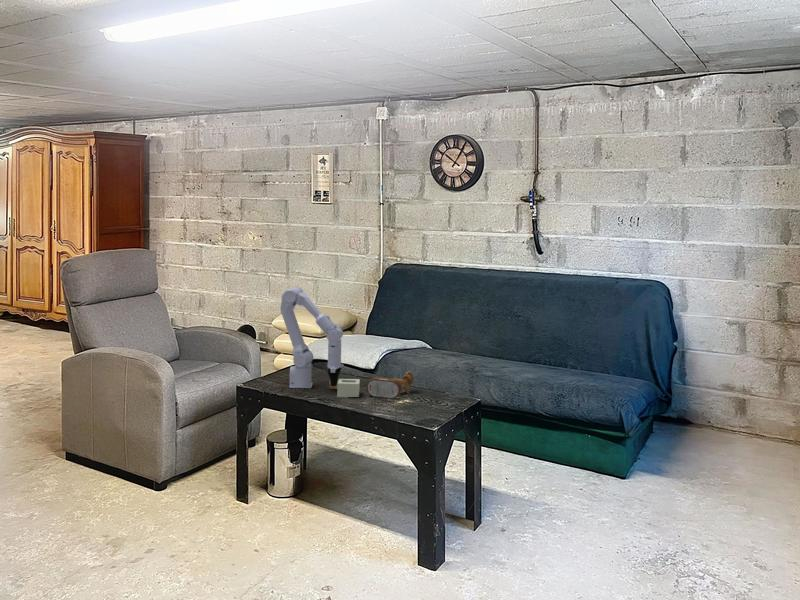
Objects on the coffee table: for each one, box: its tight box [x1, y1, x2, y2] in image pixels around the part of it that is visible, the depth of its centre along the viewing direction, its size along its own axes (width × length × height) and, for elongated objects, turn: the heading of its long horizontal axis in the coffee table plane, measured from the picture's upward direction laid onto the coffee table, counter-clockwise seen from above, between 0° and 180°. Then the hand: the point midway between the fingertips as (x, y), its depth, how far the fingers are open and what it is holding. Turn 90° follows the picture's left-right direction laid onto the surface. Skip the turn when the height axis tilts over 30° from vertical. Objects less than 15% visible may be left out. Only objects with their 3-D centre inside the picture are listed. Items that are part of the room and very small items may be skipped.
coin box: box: [336, 378, 361, 398], centre depth 300 cm, size 9×8×6 cm
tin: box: [366, 376, 403, 400], centre depth 298 cm, size 15×3×8 cm, turn 74°
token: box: [328, 378, 340, 390], centre depth 309 cm, size 4×2×4 cm, turn 91°
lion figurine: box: [394, 370, 415, 394], centre depth 305 cm, size 15×5×9 cm, turn 129°
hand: (333, 385), depth 310 cm, fingers closed on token, 2 cm apart
